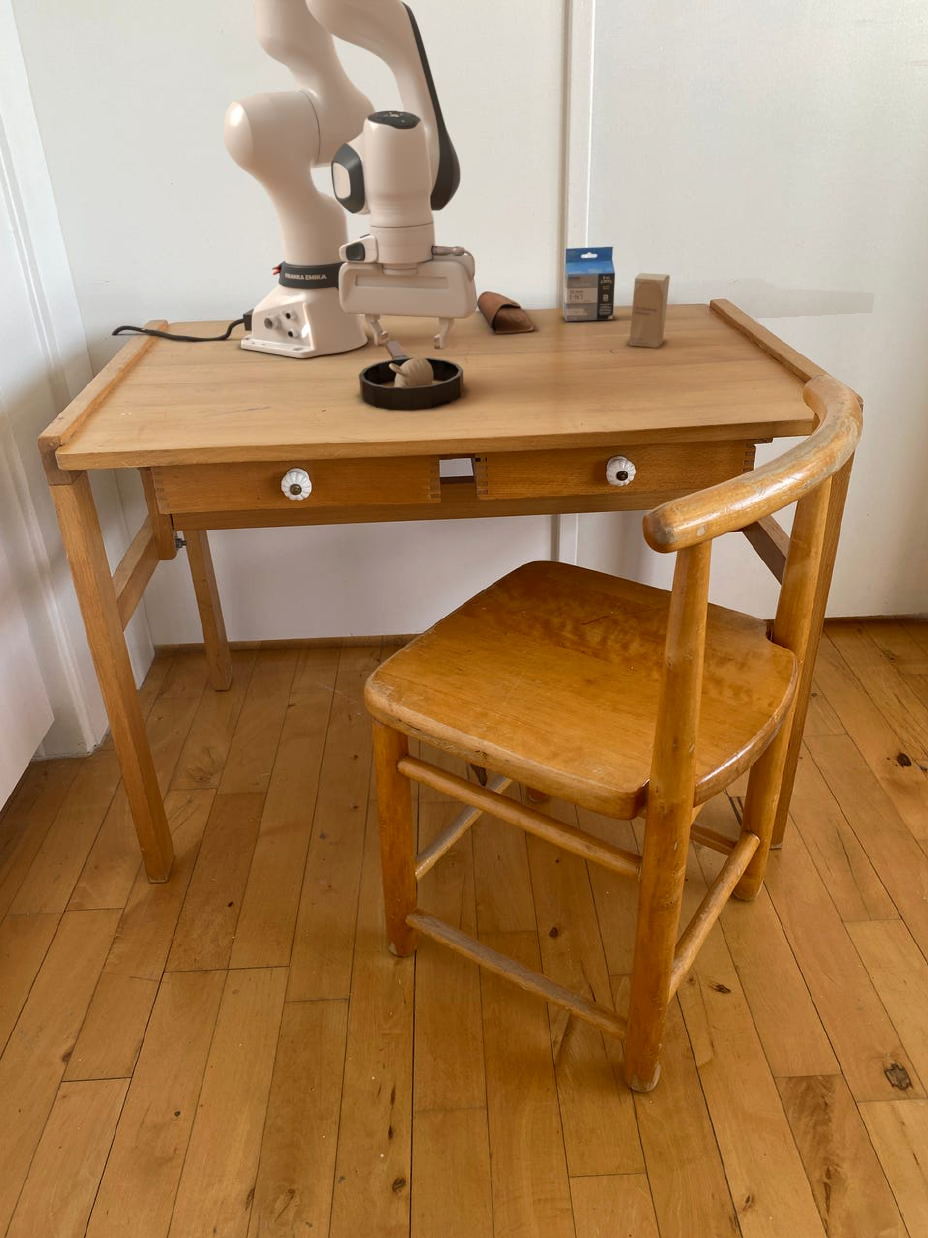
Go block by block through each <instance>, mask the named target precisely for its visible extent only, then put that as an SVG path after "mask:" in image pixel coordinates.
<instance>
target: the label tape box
mask: <svg viewBox="0 0 928 1238" xmlns="http://www.w3.org/2000/svg"><path fill="white" fill-rule="evenodd" d="M613 251H614V246H594V247H593V246H591V247H590V246H589V247H570V248H565V262H564V285H563V286H564V287H563V288H564V291H563V293H564V294H563V317H564V320H565V321H566V322H581V321H603V320H605V321H606V320H613V318H614V307H615V283H616V270H615V267H614V266H615V265H614V261H613V254H614V253H613ZM589 253H590V254H591V255H596V256H595V257H582V256H583V255H588V254H589Z"/></svg>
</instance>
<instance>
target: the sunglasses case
mask: <svg viewBox="0 0 928 1238" xmlns="http://www.w3.org/2000/svg"><path fill="white" fill-rule="evenodd" d="M477 310H479V311H480V313H481V314H482V315H483V317H484V319H485V320H486V322H487V324H488V326H489V328H491V330H493V332H494V333H495V334H497V335H498V334H499V335H500V334H502V335H507V334H508V335H510V334H520V333H521V334H522V333H527V332H532V331H534V330H535V326H534V324H533V322H532V321H531V319H530V318H529V316H528V315H527V314H526V312H525V311H524V310H523V308H522V306H521V304H519V303H518V302H517V301H515V300H513V299H511V298H509V297H507V296H505V295H502V294H500V293H497V292H495V291H489V290H488V291H483V292H482V293H481V294H480V295H479V296H478V297H477Z"/></svg>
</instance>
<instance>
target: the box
mask: <svg viewBox="0 0 928 1238" xmlns="http://www.w3.org/2000/svg"><path fill="white" fill-rule="evenodd" d="M670 278H671V275H670V274H666V273H665V274H662V273H644V272H640V273H639V274H638V275H637V276H636V277H634V285H633V286H634V287H633V296H632V309H631V322H630V332H629V341H628V342H629V344H628V345H629V346H634V347H644V348H653V349H654V348H655V349H658V348H659V347H660V346H661V345H662V344H663V342H664V336H665V326H666V315H667V306H668V296H669V285H670Z"/></svg>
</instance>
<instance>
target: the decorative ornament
mask: <svg viewBox="0 0 928 1238" xmlns="http://www.w3.org/2000/svg"><path fill="white" fill-rule="evenodd" d="M425 358H426V357H421V356H418V357H417V358H413V359H410V360H408V361H406V362H405V363H404V364H403V365H402V366H401V367H399V366H397V365H395V364H392V363H391V364H390V365H389V367H390V368H391V369H392V370H393V371H395V372H396V373H397V375H396V378H395V381H394V385H393V387H418V386H427V385H433V384H435V382H433V381H434V379H433V370H432V367H431V364H430V363H429V362H428V361H427V360H426V359H425Z"/></svg>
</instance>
